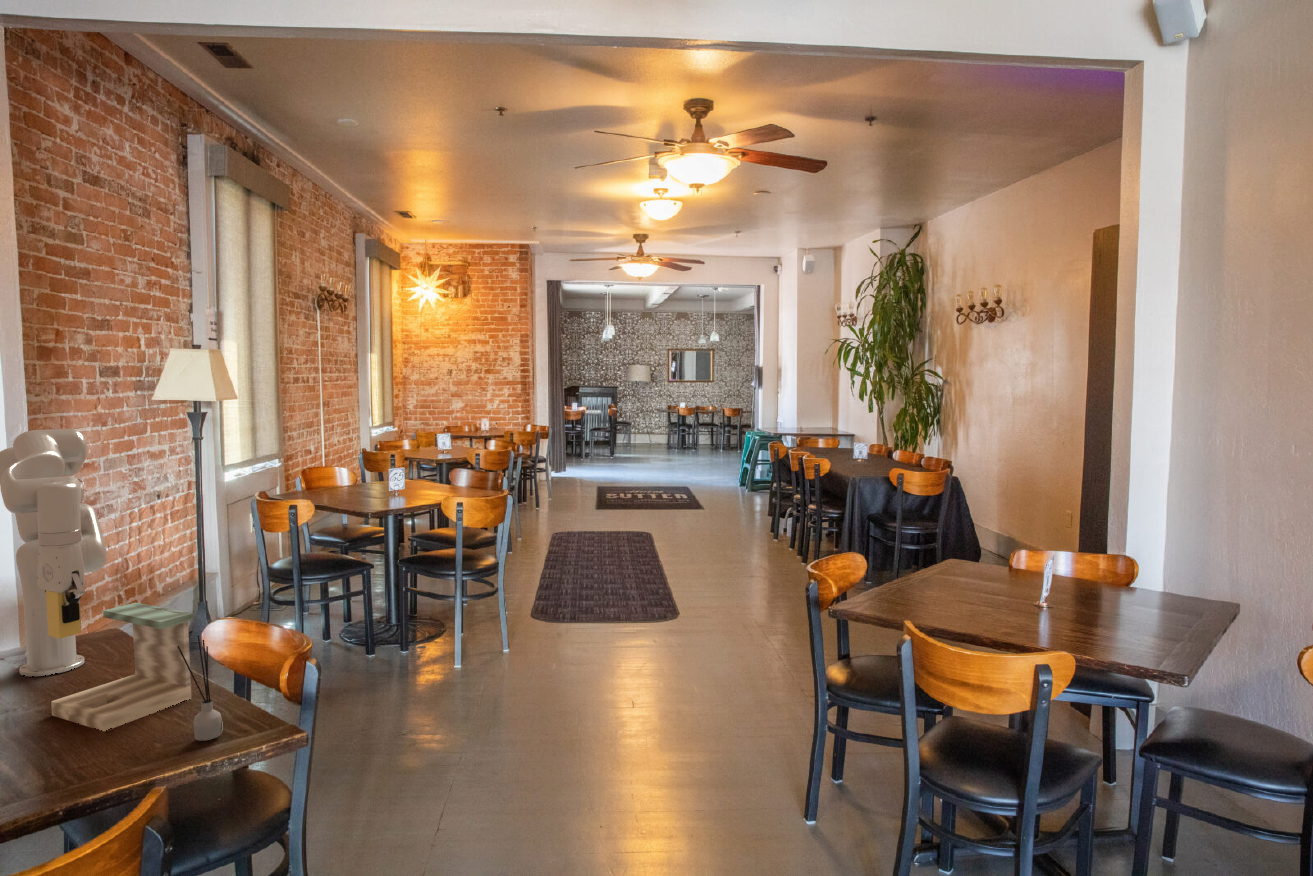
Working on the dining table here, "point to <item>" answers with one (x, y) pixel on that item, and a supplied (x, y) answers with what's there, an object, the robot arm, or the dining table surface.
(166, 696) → the green-topped stand
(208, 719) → the reed diffuser
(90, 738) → the dining table surface
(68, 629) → the peg
